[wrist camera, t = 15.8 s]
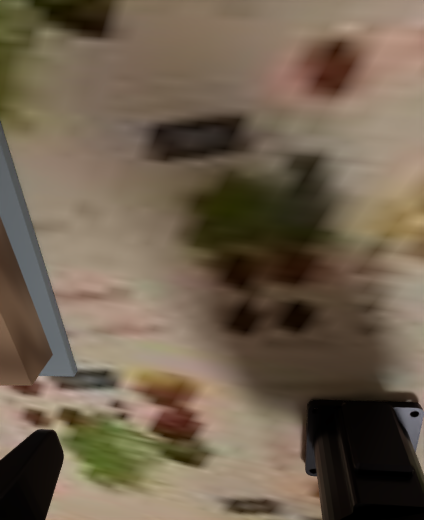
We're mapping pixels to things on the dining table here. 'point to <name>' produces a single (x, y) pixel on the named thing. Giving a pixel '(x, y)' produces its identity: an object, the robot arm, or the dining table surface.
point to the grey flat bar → (32, 265)
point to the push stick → (18, 323)
